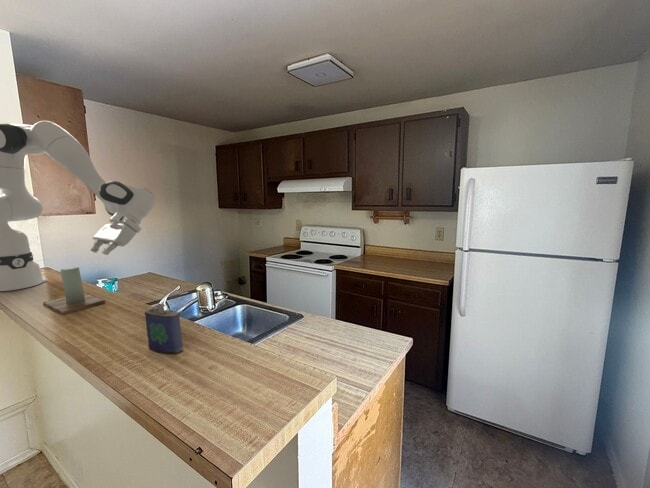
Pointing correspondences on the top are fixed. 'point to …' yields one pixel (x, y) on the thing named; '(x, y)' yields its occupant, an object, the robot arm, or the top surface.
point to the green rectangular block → (72, 285)
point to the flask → (163, 330)
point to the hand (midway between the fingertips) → (98, 252)
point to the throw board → (64, 308)
